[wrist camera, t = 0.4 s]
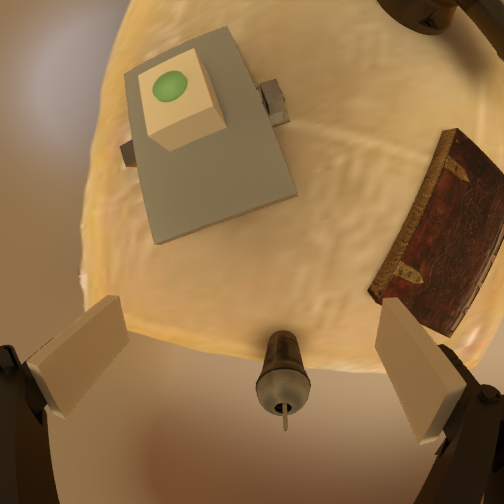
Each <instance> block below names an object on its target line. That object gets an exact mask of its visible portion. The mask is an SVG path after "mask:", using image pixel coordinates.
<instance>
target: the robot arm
mask: <svg viewBox="0 0 504 504" xmlns="http://www.w3.org/2000/svg"><path fill="white" fill-rule="evenodd" d="M378 2H379V3H380V5H381V6H382V7H383V8H384V9H385V10H386V12H388V13H389V14H390V15H391V16H392V17H393V18H394V19H396V20H397V21H398V22H400V23H401V24H403V25H405V26H406V27H408V28H410V29H412V30H414V31H417V32H419V33H423V34H427V35H437V34H440V33H442V32H443V31H444V30H446V29H447V28H448V27H449V26H450V24H451V21H452V19H453V16H454V13H455V10H456V7H457V6H458V5H459V6H460V7H461V9H462V10H463V11H464V12H465V13H466V14H467V15H468V16H469V17H470V19H471V20H472V21H473V22H474V23H475V24H476V26H477V27H478V28H479V29H480V30H481V32H482V33H483V34H484V35H485V37H486V38H487V39H488V41H489V42H490V43H491V44H492V46H493V47H494V49H495V50H496V51H497V54H498V56H499V58H500V59H501V60H502V61H504V0H378ZM128 342H129V336H128V333H127V329H126V325H125V320H124V316H123V312H122V307H121V303H120V298H119V296H113V295H107V296H106V297H104V298H103V299H102V300H101V301H99V302H98V303H97V304H95V305H94V306H93V307H92V308H90V309H89V310H88V311H86V312H85V313H84V314H83V315H81V316H80V317H79V318H78V319H76V320H75V321H74V322H73V323H71V324H70V325H69V326H68V327H66V328H65V329H64V330H63V331H61V332H60V333H59V334H58V335H57V336H55V337H54V338H52V339H51V340H50V341H49V342H47V343H46V344H45V346H43V347H41V348H40V350H38V351H37V352H35V353H34V354H33V355H32V356H31V357H30V358H28V359H27V360H26V361H25V362H24V363H23V364H22V365H21V363H20V361H19V359H18V356H17V354H16V352H15V349H14V347H13V346H11V345H3V346H0V504H60V503H59V499H58V494H57V490H56V485H55V480H54V475H53V469H52V462H51V455H50V447H49V437H48V424H47V414H46V411H45V410H44V407H45V406H46V405H47V404H48V406H49V407H50V409H51V411H52V412H53V414H55V415H57V416H59V417H62V418H64V419H66V418H67V417H68V415H69V414H70V413H71V412H72V410H73V409H74V408H75V407H76V405H77V404H78V403H79V402H80V400H81V399H82V398H83V397H84V395H85V394H86V393H87V392H88V390H89V389H90V388H91V387H92V385H93V384H94V383H95V382H96V380H97V379H98V378H99V377H100V376H101V374H102V373H103V372H104V371H105V369H106V368H107V367H108V366H109V365H110V364H111V362H112V361H113V360H114V359H115V358H116V356H117V355H118V354H119V353H120V352H121V350H122V349H123V348H124V346H126V344H127V343H128ZM375 349H376V351H377V353H378V355H379V357H380V359H381V361H382V363H383V365H384V367H385V369H386V371H387V374H388V376H389V378H390V380H391V382H392V384H393V386H394V389H395V391H396V393H397V395H398V397H399V400H400V402H401V404H402V407H403V409H404V411H405V414H406V416H407V418H408V421H409V423H410V425H411V428H412V430H413V433H414V435H415V437H416V440H417V443H418V445H421V444H425V443H429V442H432V441H435V440H437V438H438V437H439V435H440V433H441V431H442V430H443V431H444V433H445V435H446V438H445V440H444V441H443V443H442V444H441V446H440V447H439V449H438V450H437V452H436V453H435V455H437V454H438V455H437V457H436V460H435V462H434V464H433V466H432V469H431V471H430V473H429V475H428V477H427V479H426V481H425V483H424V485H423V487H422V489H421V491H420V492H419V494H418V496H417V498H416V500H415V502H414V503H413V504H480V503H481V500H482V497H483V494H484V501H483V504H504V395H501V394H500V392H499V390H497V389H496V388H495V387H493V386H490V385H485V384H483V385H480V384H479V383H478V382H477V380H476V379H475V378H474V376H473V375H472V374H471V373H470V371H469V370H468V369H467V368H466V366H465V365H463V363H462V361H461V360H460V359H458V356H457V355H456V354H455V353H454V351H453V350H451V349H450V348H448V347H447V346H445V345H444V344H441V345H437V344H436V343H435V342H434V340H433V339H432V338H431V337H430V335H429V334H428V333H427V332H426V330H425V329H424V328H423V327H422V326H421V324H420V323H419V322H418V321H417V320H416V318H415V317H414V316H413V315H412V314H411V313H410V311H409V310H408V309H407V308H406V307H405V306H404V304H403V303H402V302H401V301H400V300H399V299H398V298H397V297H394V298H383V303H382V309H381V315H380V321H379V327H378V332H377V337H376V342H375Z"/></svg>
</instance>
